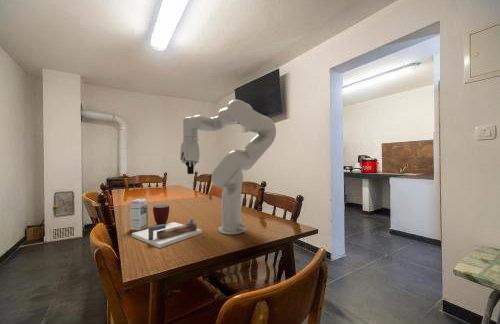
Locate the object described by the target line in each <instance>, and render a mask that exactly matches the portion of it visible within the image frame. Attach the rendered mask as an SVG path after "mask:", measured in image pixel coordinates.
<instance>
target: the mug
mask: <svg viewBox="0 0 500 324" xmlns="http://www.w3.org/2000/svg"><path fill="white" fill-rule="evenodd" d="M152 214H153V218H154V222H155V224H156V225H161V224H167V222H168V219H169V214H170V205H169V204H164V203H163V204H156V205H153V207H152Z"/></svg>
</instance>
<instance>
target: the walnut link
mask: <svg viewBox="0 0 500 324" xmlns="http://www.w3.org/2000/svg"><path fill="white" fill-rule="evenodd" d="M196 229H198V226H197V223H196V222H194V219H193V218H190V219H189V222H188V223H186V224H183V225H182V226H178V227H174V228H170V229H166V230H161V231H157V238H159V239H162V238H166V237H169V236H173V235H177V234H180V233H184V232H188V231H194V230H196Z"/></svg>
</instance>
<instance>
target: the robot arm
mask: <svg viewBox="0 0 500 324" xmlns="http://www.w3.org/2000/svg"><path fill="white" fill-rule="evenodd" d="M182 120H183V122H182V123H183V125H182V126H183V130H182V131H183V136H182V139H183V142H181V145H180V154H179V155H180V156H179V159H180V161H181V163H182V164H184V165H186V167H187V169H186V170H187V171H186V172H187V175H194V170H195V166H196V165H197V164H199V163H200V161H199V160H200V159H201V158H200V156H201V154H200V147H199V146H200V145H199V143H198V142H199V138H198V133H199V131H205V132H215V131H218V130H222V129H224V128H225V127H227V126H232V125H237V124H239V125H240V126H241V127H243V128H244V129H246V131H249V132H251V133H254V134H256V135H255V136H254V137H253V138H251V140H249V142H248V143H247V144H246V145H245V146H244V147H243V148H242V149H234V150H231V151H229V152H228V153H227V154H225V156H224V158H222V160H221V161H220V162H219V164H217V166H216V167H215V168H214V170H212V171H213V172H212V173H211V181H212V184H213V185H214V186H215V187H217V188H219V189H220V188H221V189H222V191H221V226H219V227H218V232H219V233H220V234H223V235H239V234H242V233H243V232H246V230H247V228H248V226H247V225H244V221H242V191H243V190H242V188H243V181H244V174H243V171H248V170H250V169H252V167H253V166H255V164H256V163H257V162H258V161H259V159H260V158H261V157H262V156H263V155H264V153H266V151H268V149H270V147H271V146H272V144H273V143H274V141H275V139H276V135H277V127H276V125H275V122H274V121H273V120H272V119H271V118H270V117H269V116H267V115H264V114H262V113H260V112H258V111H257V110H255V109H253V107H252V106H251V104H249V103H247V102H246V101H243V100H240V99H232V100H231V101H229V103H228V104H227V107H224V108H221V109H220V110H219V111H218V115H217V116H214V117H208V116H206V115H205V116H204V115H200V114H196V115H192V116H186V117H184V118H183V119H182Z"/></svg>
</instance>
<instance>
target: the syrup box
mask: <svg viewBox="0 0 500 324" xmlns="http://www.w3.org/2000/svg"><path fill="white" fill-rule="evenodd" d="M129 217H130V220H129V223H130V230H132V231H142V230H145V228H146V229H147V228H148V227H149V226H148V223H149V222H148V221H149V220H148V217H149V216H148V199H146V198H137V199H134V200H130V201H129Z"/></svg>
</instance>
